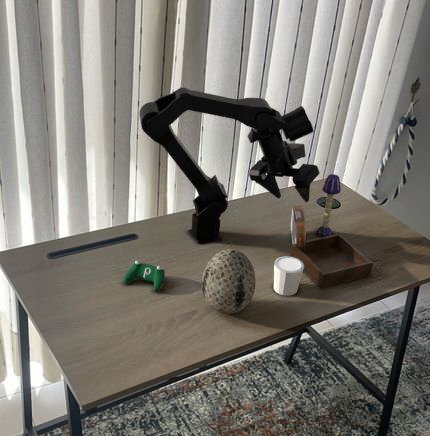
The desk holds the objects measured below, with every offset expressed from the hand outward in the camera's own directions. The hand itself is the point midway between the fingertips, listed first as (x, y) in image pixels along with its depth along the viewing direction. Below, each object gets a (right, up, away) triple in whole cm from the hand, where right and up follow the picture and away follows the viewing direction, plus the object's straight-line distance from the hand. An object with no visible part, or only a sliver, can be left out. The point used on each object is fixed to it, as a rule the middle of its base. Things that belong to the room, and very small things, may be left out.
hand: (293, 199), depth 173 cm
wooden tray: (+8, -18, -5) cm, 20 cm away
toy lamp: (+9, -8, +8) cm, 14 cm away
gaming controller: (-36, -22, -16) cm, 45 cm away
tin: (+1, -11, +2) cm, 11 cm away
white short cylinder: (-4, -23, -14) cm, 28 cm away
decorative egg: (-18, -28, -22) cm, 40 cm away
